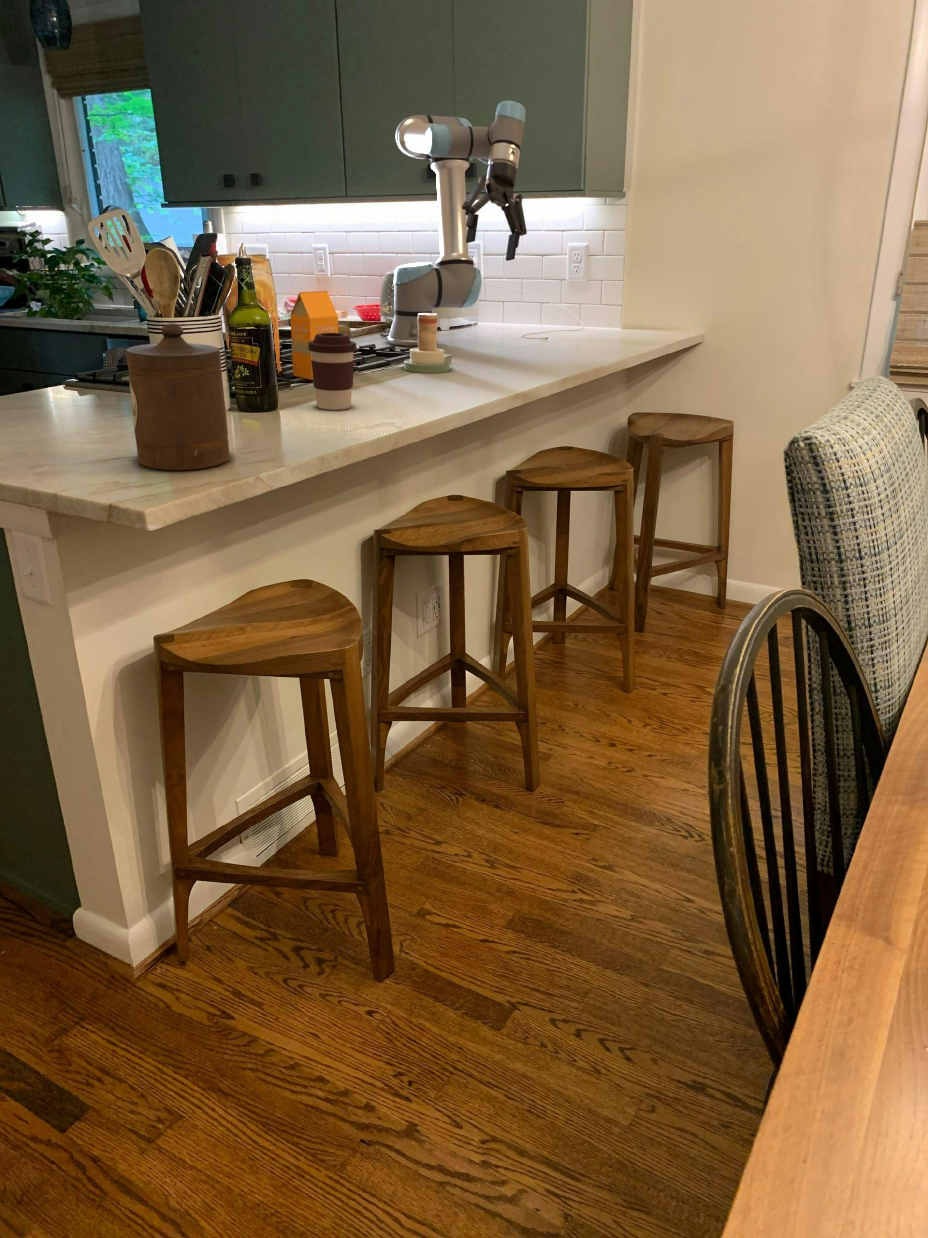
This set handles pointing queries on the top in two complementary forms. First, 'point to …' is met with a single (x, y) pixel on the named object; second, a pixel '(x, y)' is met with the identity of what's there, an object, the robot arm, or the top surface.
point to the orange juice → (310, 327)
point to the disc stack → (426, 361)
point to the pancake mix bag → (263, 292)
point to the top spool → (427, 331)
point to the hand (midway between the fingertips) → (490, 250)
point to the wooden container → (178, 403)
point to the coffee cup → (332, 369)
